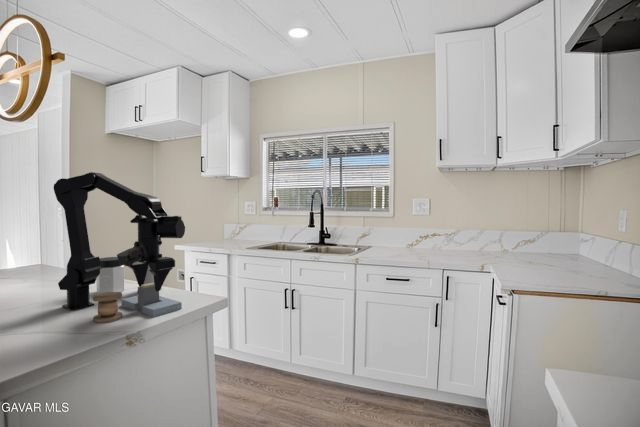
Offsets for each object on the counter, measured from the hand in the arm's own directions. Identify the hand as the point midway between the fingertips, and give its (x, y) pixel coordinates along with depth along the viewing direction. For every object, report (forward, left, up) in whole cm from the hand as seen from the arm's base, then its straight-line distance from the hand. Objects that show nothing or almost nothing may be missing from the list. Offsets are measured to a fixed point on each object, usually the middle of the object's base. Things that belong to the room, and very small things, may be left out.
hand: (149, 288), depth 105 cm
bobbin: (-1, -11, -6) cm, 13 cm away
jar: (-30, +3, -6) cm, 31 cm away
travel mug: (-20, +13, -6) cm, 25 cm away
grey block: (0, 0, -6) cm, 6 cm away
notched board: (-1, +1, -6) cm, 6 cm away
